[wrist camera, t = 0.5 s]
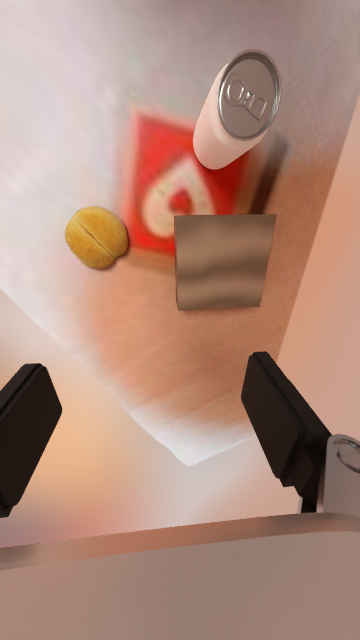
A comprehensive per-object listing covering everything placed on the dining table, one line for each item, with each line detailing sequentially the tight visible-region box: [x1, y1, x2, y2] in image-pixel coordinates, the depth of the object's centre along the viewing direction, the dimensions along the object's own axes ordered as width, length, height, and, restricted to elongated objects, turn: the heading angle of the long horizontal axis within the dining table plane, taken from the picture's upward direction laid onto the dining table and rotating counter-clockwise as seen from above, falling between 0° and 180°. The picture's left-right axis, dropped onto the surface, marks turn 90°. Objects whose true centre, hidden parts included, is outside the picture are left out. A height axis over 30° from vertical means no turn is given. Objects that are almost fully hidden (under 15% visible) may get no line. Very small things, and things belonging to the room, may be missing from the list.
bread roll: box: [65, 206, 128, 269], centre depth 31 cm, size 8×9×4 cm
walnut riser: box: [174, 214, 276, 311], centre depth 33 cm, size 14×14×5 cm
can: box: [193, 50, 281, 170], centre depth 23 cm, size 6×6×12 cm
